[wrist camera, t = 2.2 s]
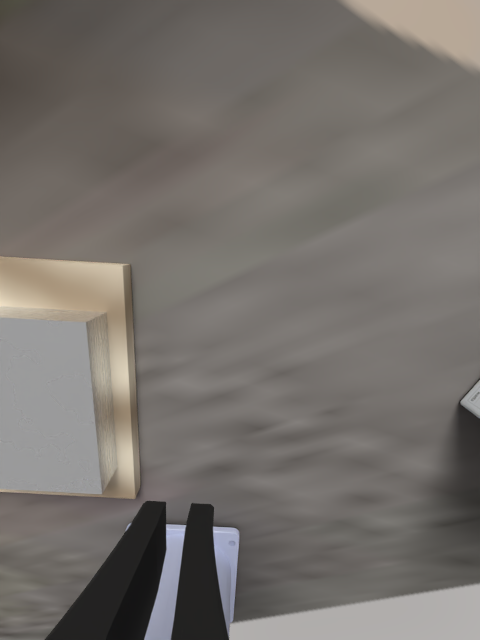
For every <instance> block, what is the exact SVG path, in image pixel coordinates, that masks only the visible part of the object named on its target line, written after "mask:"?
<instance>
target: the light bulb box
mask: <svg viewBox="0 0 480 640" xmlns="http://www.w3.org/2000/svg"><path fill="white" fill-rule="evenodd" d="M460 403H461V405H462V406H464V407H465V408H466V409H468V410H469V411H470V412H472V413H473V414H474V415H476V416H477V417H478V418H480V380H479V381H478V382H477V383H476V385H475V386H474V387H473V388H472V389H471V390H470V391H469V392H468V394H467V395H466V396H465V397H464V398H463V399H462V400H461V402H460Z"/></svg>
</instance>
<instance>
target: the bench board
mask: <svg viewBox="0 0 480 640" xmlns="http://www.w3.org/2000/svg"><path fill="white" fill-rule="evenodd" d="M0 306H8V307H26V308H43V309H60V310H78V311H95V312H106V313H107V327H108V340H109V354H110V368H111V382H112V396H113V409H114V423H115V437H116V451H117V464H118V467H117V469H116V470H115V472H114V474H113V476H112V477H111V479H110V481H109V483H108V485H107V486H106V488H105V490H104V492H103V493H102V494H85V493H66V492H47V491H28V490H10V489H0V492H15V493H34V494H53V495H72V496H91V497H109V498H128V499H135V498H136V496H137V494H138V491H139V489H140V486H141V481H140V459H139V438H138V417H137V395H136V374H135V352H134V331H133V310H132V288H131V267H130V264H117V263H100V262H83V261H66V260H49V259H32V258H15V257H0Z"/></svg>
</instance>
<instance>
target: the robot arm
mask: <svg viewBox="0 0 480 640" xmlns="http://www.w3.org/2000/svg"><path fill="white" fill-rule="evenodd" d="M213 517H214V507H213V506H212V505H211V504H195V503H192V504H191V508H190V511H189V515H188V519H187V524H186V525H174V524H166V502H157V501H146V502H145V503H144V504H143V505H142V507H141V508H140V510H139V512H138V513H137V515H136V517H135V518H134V520H133V521H132V523H130V524H129V525H128V526H127V529H126V532H125V533H124V535H123V536H122V538H121V539H120V541H119V542H118V544H117V545H116V547H115V548H114V550H113V551H112V552H111V554H110V555H109V557H108V558H107V559H106V561H105V562H104V564H103V565H102V566H101V568H100V569H99V570H98V572H97V573H96V575H95V576H94V577H93V579H92V580H91V581H90V583H89V584H88V585H87V587H86V588H85V589H84V591H83V592H82V593H81V595H80V596H79V597H78V598H77V600H76V601H75V602H74V604H73V605H72V606H71V607H70V609H69V610H68V611H67V613H66V614H65V615H64V616H63V618H62V619H61V620H60V622H59V623H58V624H57V625H56V626H55V628H54V629H53V630H52V631H51V633H50V634H49V635H48V636H47V638H46V639H45V640H229V625H230V623H231V622H232V621H233V615H234V602H235V589H236V576H237V562H238V549H239V531H238V529H236V528H231V527H213Z"/></svg>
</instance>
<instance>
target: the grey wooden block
mask: <svg viewBox="0 0 480 640" xmlns="http://www.w3.org/2000/svg"><path fill="white" fill-rule="evenodd" d="M117 467H118V464H117V451H116V437H115V423H114V409H113V396H112V382H111V368H110V354H109V340H108V327H107V313H106V312H95V311H78V310H60V309H43V308H26V307H8V306H0V489H10V490H28V491H47V492H66V493H85V494H102V493H103V492H104V490H105V488H106V486H107V485H108V483H109V481H110V479H111V477H112V476H113V474H114V472H115V470H116V469H117Z"/></svg>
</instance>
